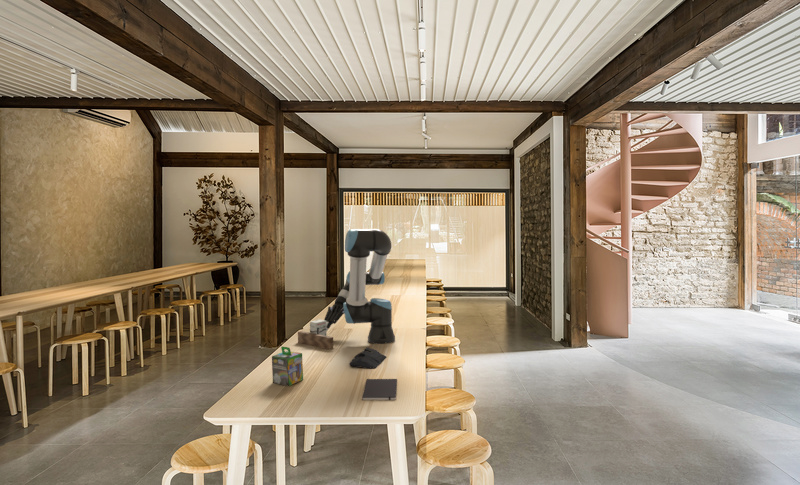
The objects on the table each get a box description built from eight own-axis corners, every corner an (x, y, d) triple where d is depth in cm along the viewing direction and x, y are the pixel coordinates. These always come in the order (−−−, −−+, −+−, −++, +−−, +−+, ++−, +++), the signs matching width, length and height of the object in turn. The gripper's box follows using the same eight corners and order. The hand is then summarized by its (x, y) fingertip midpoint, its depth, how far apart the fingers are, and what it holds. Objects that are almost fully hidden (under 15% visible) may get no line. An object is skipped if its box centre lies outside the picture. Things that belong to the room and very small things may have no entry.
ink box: (315, 344, 262) (315, 322, 262) (309, 342, 265) (309, 321, 265) (327, 341, 269) (326, 319, 269) (320, 339, 272) (320, 318, 272)
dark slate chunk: (343, 368, 220) (343, 358, 220) (358, 355, 242) (358, 346, 241) (376, 370, 217) (376, 360, 217) (388, 357, 238) (388, 347, 238)
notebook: (366, 382, 201) (362, 401, 180) (366, 378, 201) (361, 397, 180) (397, 382, 201) (396, 401, 179) (397, 378, 201) (396, 397, 179)
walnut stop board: (333, 348, 253) (333, 337, 253) (330, 349, 251) (329, 338, 251) (301, 341, 268) (301, 330, 268) (298, 342, 267) (297, 331, 266)
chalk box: (303, 380, 203) (303, 345, 202) (288, 386, 195) (287, 350, 194) (287, 376, 208) (286, 342, 207) (271, 383, 200) (270, 347, 199)
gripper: (354, 304, 283) (334, 337, 271) (338, 301, 291) (318, 334, 279) (348, 296, 279) (327, 330, 266) (332, 294, 287) (311, 327, 274)
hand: (323, 332), depth 273 cm, fingers closed
